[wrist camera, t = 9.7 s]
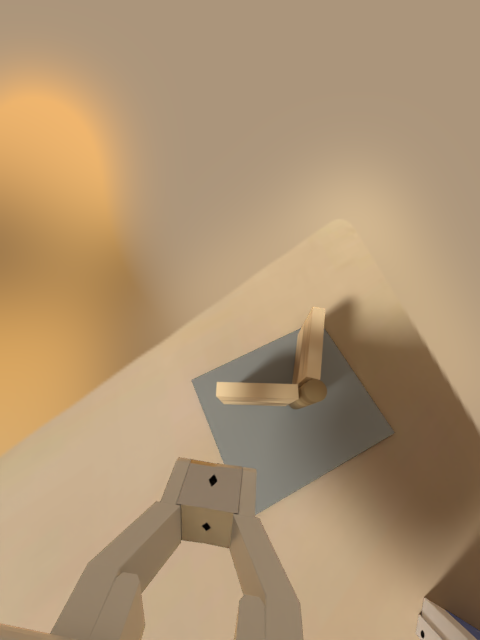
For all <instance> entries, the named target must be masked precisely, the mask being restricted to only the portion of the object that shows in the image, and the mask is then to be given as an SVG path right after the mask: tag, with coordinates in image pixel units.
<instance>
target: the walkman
mask: <svg viewBox="0 0 480 640" xmlns="http://www.w3.org/2000/svg"><path fill="white" fill-rule="evenodd" d="M416 635H417V636H418V637H419V638H420V640H480V631H479V630H478V629H476V628H474V627H473V626H471V625H470V624H468V623H466V622H465V621H463V620H462V619H460V618H458V617H457V616H455V615H453V614H452V613H450V612H449V611H447V610H444V609H443V608H441V607H440V606H438V605H436V604H435V603H433V602H431V601H430V600H428V599H427V598H425V597H424V602H423V608H422V614H421V615H419V617H418V623H417V629H416Z"/></svg>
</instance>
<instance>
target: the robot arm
mask: <svg viewBox="0 0 480 640" xmlns="http://www.w3.org/2000/svg"><path fill="white" fill-rule="evenodd" d="M256 476H257V471H256V469H254V468H246V467H242V466H235V465H227V464H219V463H217V464H215V463H210V462H204V461H198V460H193V459H187V458H180V457H179V458H178V459H177V461H176V463H175V465H174V468H173V471H172V473H171V476H170V478H169V481H168V483H167V486H166V488H165V491H164V494H163V496H162V499H161V501H160V502H158V501H156V502H155V503H154V504H153V505H152V506H150V507H149V508H148V509H147V510H146V511H145V512H144V513H143V514H142V515H141V516H139V517H138V518H137V519H136V520H135V521H134V522H133V523H132V524H131V525H130V526H128V527H127V528H126V529H125V530H124V531H123V532H122V533H121V534H120V535H119V536H117V537H116V538H115V539H114V540H113V541H112V542H111V543H110V544H109V545H108V546H106V547H105V548H104V549H103V550H102V551H101V552H100V553H99V554H98V555H97V556H95V557H94V558H93V559H92V560H91V561H90V562H89V563H88V564H87V566H86V568H85V570H84V571H83V573H82V575H81V577H80V579H79V581H78V583H77V584H76V586H75V588H74V590H73V592H72V594H71V596H70V597H69V599H68V601H67V603H66V605H65V607H64V609H63V610H62V612H61V614H60V616H59V618H58V620H57V622H56V623H55V625H54V627H53V629H52V631H51V633H50V634H49V633H44V632H39V631H34V630H30V629H25V628H20V627H15V626H10V625H5V624H1V623H0V640H141V638H142V635H143V631H144V628H145V619H144V611H143V603H142V595H141V594H142V592H143V591H144V590H145V588H146V587H147V586H148V584H149V583H150V582H151V581H152V579H153V578H154V577H155V575H156V574H157V573H158V572H159V570H160V569H161V568H162V566H163V565H164V564H165V562H166V561H167V560H168V559H169V557H170V556H171V555H172V553H173V552H174V551H175V549H176V548H177V547H178V546H179V544H180V543H181V540H183V541H191V542H198V543H205V544H210V545H215V546H220V547H225V548H229V549H230V552H231V556H232V559H233V562H234V566H235V569H236V572H237V575H238V579H239V582H240V585H241V589H242V592H243V597H242V598H241V599H240V600H239V607H238V614H237V621H236V628H235V634H234V640H303V629H302V618H301V607H300V602H299V600H298V598H297V596H296V594H295V591H294V589H293V587H292V585H291V583H290V581H289V579H288V577H287V575H286V573H285V571H284V569H283V567H282V564H281V562H280V560H279V558H278V556H277V554H276V552H275V550H274V548H273V546H272V544H271V542H270V540H269V538H268V535H267V533H266V531H265V529H264V527H263V525H262V523H261V521H260V519H259V518H257V517H255V501H256Z"/></svg>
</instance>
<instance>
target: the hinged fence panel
mask: <svg viewBox="0 0 480 640" xmlns="http://www.w3.org/2000/svg"><path fill="white" fill-rule="evenodd" d="M216 397H217V398H218V399H219V400H220V401H221V402H222V403H223V404H231V405H262V406H287V405H289V404H290V403H292V402H294V401H296V400H298V399H299V394H298V384H272V383H238V382H217V387H216Z"/></svg>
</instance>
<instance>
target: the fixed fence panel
mask: <svg viewBox="0 0 480 640" xmlns="http://www.w3.org/2000/svg"><path fill="white" fill-rule="evenodd" d="M324 320H325V308H319V307H312V309H311V311H310V313H309V315H308V317H307V319H306V320H305V322H304V324H303V326H302V328H301V330H300V331H299V333H298V337H297V345H296V354H295V363H294V371H293V380H292V384H298V394H299V399H298V400H296V401H294V402H292V403H290V404H289V406H290V407H291V408H292V409H300V408H303V407H306V406H309V405H311V404H314V403H317V402H320V401H322V400H324V399H325V397H326V395H327V388H326V386H325V384H324V383H323V382H322V381H320V377H321V362H322V348H323V334H324Z"/></svg>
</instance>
